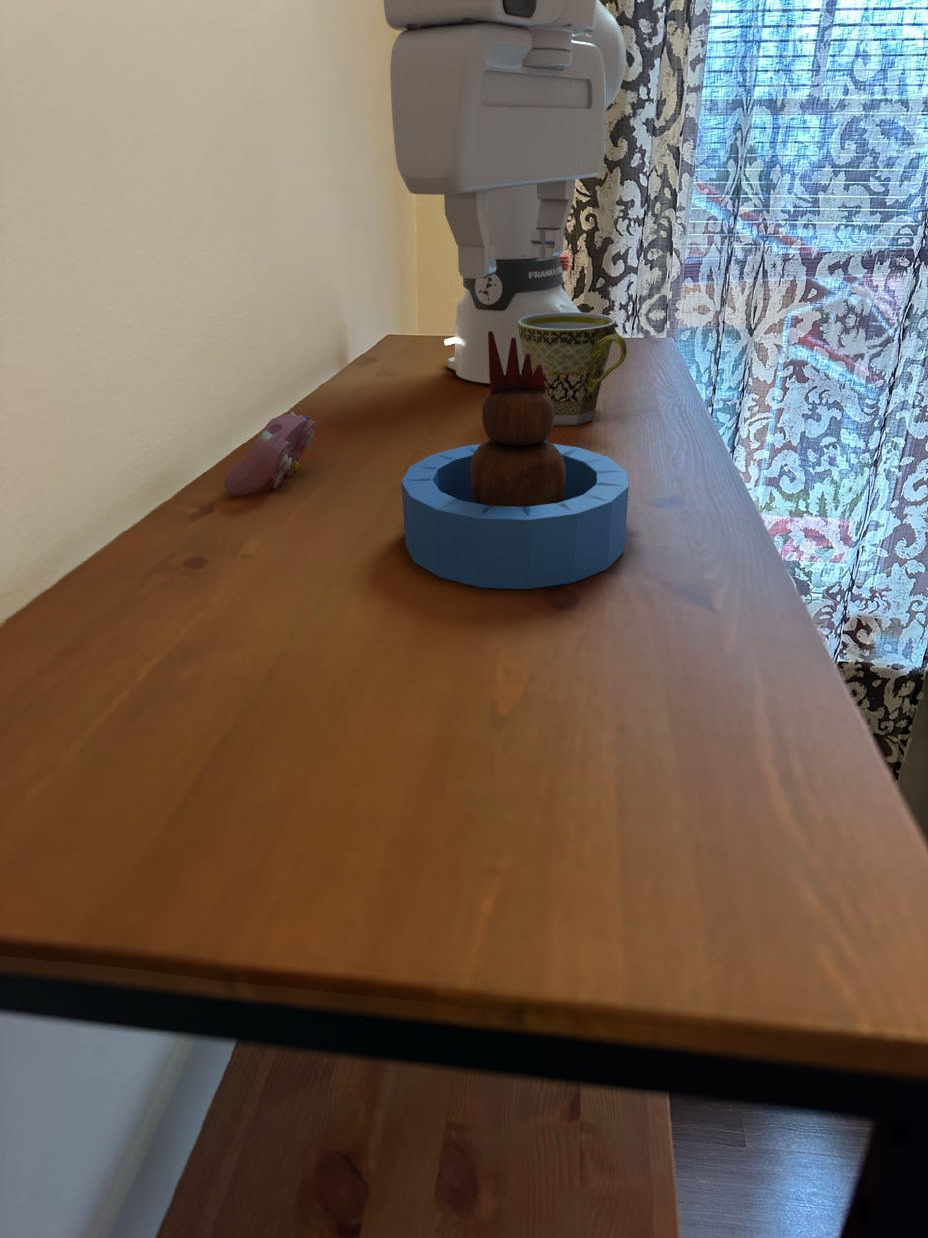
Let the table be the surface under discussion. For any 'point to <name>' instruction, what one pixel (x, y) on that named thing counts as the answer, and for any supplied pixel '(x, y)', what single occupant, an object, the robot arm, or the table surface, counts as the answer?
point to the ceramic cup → (571, 359)
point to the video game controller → (271, 455)
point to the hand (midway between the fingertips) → (514, 266)
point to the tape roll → (514, 524)
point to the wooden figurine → (516, 438)
